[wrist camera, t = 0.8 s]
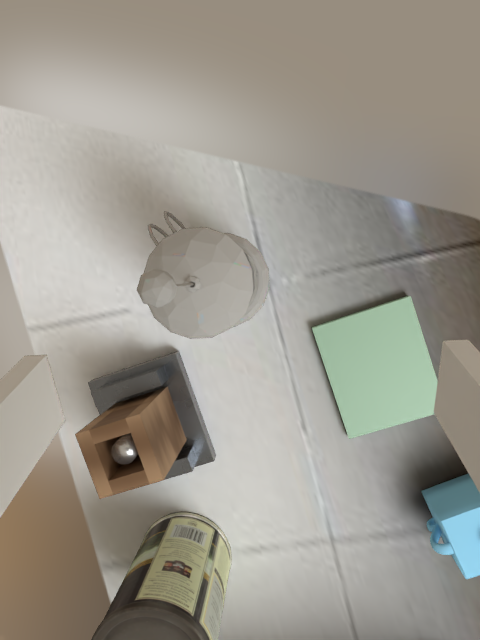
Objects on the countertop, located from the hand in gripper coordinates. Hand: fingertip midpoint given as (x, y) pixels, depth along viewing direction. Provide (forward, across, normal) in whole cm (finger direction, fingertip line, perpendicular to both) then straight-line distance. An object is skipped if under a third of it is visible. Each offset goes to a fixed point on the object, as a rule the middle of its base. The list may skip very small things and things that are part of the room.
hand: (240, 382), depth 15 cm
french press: (+31, +4, +6) cm, 32 cm away
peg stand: (+26, +12, +20) cm, 35 cm away
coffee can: (+21, +10, +36) cm, 42 cm away
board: (+27, -11, +16) cm, 33 cm away
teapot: (+23, -21, +29) cm, 42 cm away
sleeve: (+24, +12, +20) cm, 34 cm away
